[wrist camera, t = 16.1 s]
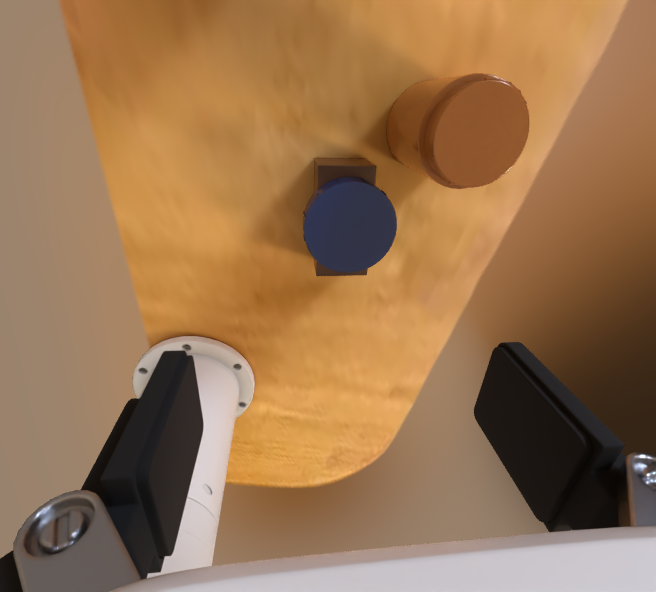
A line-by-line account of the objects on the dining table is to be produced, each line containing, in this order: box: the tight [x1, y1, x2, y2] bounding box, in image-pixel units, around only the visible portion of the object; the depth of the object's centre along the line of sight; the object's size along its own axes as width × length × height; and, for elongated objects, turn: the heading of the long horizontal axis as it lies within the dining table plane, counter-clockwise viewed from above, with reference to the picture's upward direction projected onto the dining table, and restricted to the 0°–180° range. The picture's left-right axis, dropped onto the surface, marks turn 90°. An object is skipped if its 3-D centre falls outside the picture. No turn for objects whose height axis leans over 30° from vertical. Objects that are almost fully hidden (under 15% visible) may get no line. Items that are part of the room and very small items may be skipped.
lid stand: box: [313, 158, 376, 276], centre depth 30 cm, size 9×4×4 cm, turn 178°
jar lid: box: [303, 177, 397, 273], centre depth 28 cm, size 7×7×2 cm
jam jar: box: [387, 73, 529, 189], centre depth 25 cm, size 7×7×10 cm
